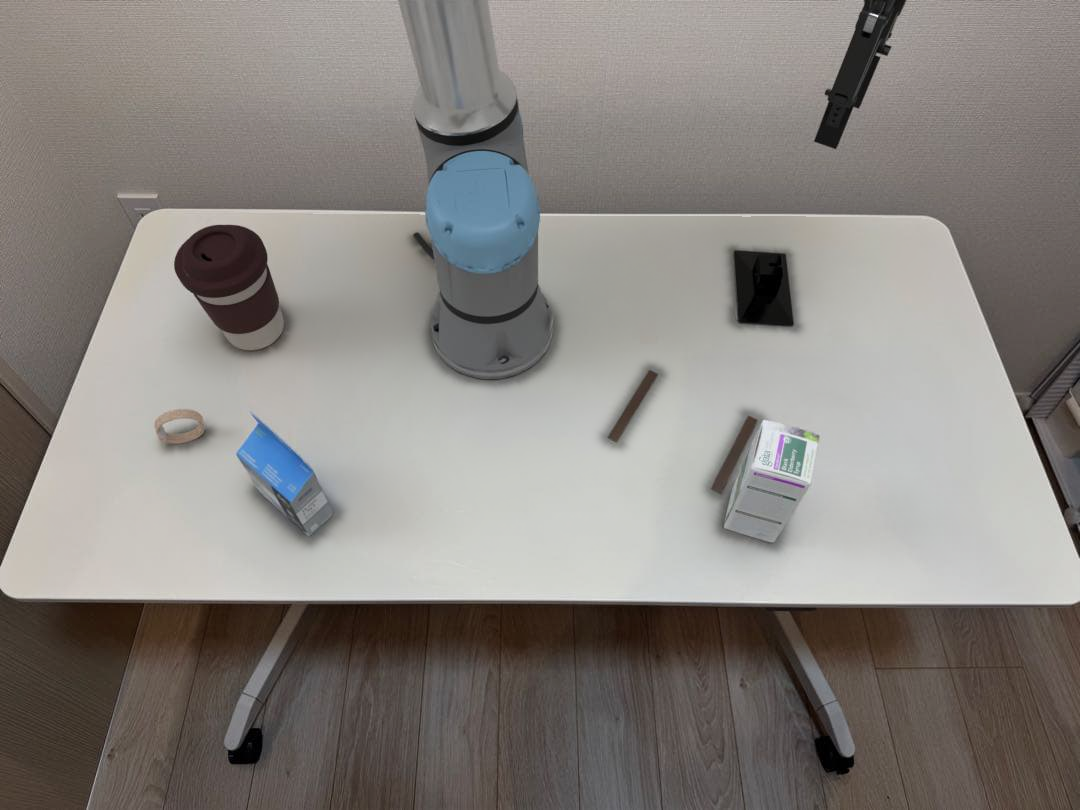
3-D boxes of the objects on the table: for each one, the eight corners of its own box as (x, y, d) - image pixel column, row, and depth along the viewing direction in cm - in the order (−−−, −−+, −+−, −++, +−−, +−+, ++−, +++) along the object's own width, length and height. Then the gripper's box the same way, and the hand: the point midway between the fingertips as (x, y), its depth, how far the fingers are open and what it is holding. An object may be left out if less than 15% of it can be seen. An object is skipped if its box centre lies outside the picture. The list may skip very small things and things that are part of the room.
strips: (607, 437, 89) (607, 436, 89) (649, 370, 94) (649, 369, 94) (720, 493, 85) (721, 493, 85) (757, 420, 90) (758, 419, 90)
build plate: (793, 327, 98) (803, 304, 94) (735, 323, 98) (743, 300, 94) (785, 254, 104) (794, 230, 100) (731, 251, 105) (738, 227, 101)
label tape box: (257, 490, 85) (217, 435, 75) (285, 465, 87) (251, 408, 76) (309, 538, 82) (276, 488, 72) (337, 511, 84) (309, 459, 73)
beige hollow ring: (167, 434, 89) (148, 412, 85) (208, 421, 90) (192, 399, 86) (169, 453, 88) (151, 431, 83) (212, 440, 89) (195, 418, 84)
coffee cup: (289, 291, 101) (253, 205, 88) (301, 349, 96) (265, 267, 83) (212, 309, 99) (164, 224, 86) (220, 369, 94) (171, 289, 81)
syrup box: (774, 545, 82) (816, 485, 70) (720, 528, 83) (751, 466, 71) (783, 499, 85) (824, 433, 73) (730, 483, 86) (762, 416, 74)
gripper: (926, -15, 67) (839, 185, 87) (982, -114, 77) (893, 86, 96) (843, -38, 69) (777, 162, 89) (908, -132, 79) (835, 68, 98)
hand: (837, 122), depth 92 cm, fingers open, 8 cm apart
